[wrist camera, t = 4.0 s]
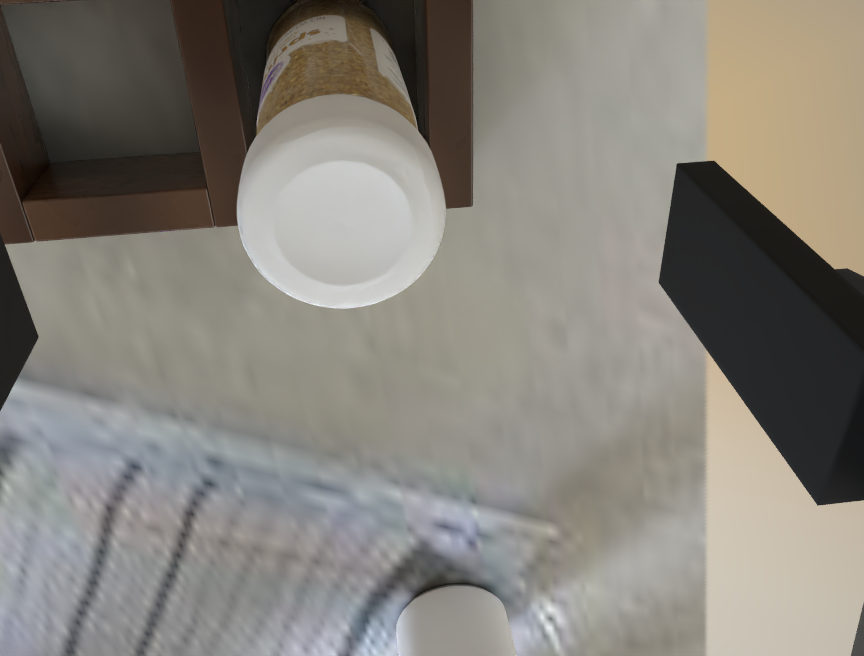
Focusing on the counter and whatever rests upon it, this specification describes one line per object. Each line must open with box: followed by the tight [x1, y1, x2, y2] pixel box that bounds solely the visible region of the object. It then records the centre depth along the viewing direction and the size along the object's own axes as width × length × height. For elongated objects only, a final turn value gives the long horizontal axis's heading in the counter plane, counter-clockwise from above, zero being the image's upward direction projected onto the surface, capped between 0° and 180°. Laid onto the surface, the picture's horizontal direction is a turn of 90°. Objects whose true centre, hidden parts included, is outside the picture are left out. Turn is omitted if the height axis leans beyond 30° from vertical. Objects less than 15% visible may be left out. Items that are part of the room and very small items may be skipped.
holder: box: [0, 0, 473, 244], centre depth 26 cm, size 16×9×4 cm, turn 92°
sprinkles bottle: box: [237, 0, 446, 309], centre depth 22 cm, size 5×5×13 cm
